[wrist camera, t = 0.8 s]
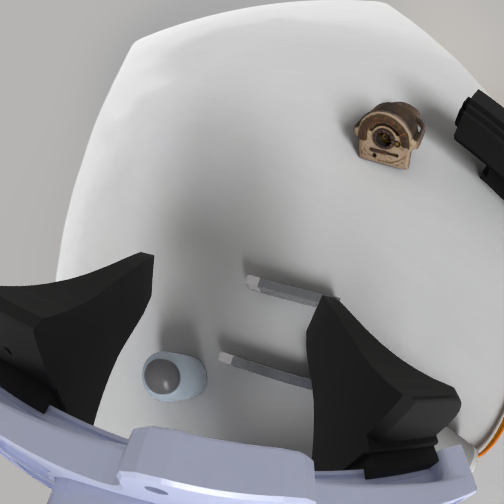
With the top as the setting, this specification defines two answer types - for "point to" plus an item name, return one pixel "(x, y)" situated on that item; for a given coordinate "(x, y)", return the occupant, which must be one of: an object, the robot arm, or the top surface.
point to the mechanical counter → (390, 134)
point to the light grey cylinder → (173, 376)
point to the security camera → (484, 136)
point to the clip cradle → (286, 293)
